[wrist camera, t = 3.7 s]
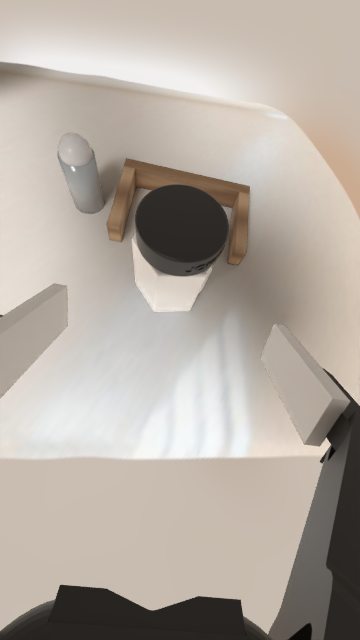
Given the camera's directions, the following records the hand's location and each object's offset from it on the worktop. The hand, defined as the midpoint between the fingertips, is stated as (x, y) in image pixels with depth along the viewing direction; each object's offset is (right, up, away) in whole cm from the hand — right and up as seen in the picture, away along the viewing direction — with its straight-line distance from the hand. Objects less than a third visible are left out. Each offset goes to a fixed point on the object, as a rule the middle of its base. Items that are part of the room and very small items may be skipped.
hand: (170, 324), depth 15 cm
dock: (+1, +14, +20) cm, 24 cm away
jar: (-1, +5, +17) cm, 17 cm away
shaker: (-12, +17, +19) cm, 28 cm away
